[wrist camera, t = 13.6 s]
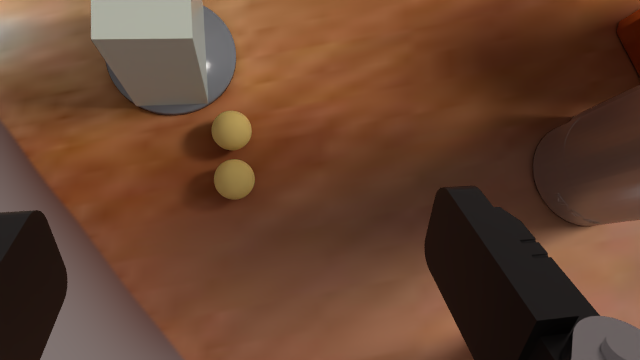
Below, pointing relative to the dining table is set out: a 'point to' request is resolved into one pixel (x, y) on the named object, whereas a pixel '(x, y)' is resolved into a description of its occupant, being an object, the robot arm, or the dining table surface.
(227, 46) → the coaster
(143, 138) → the dining table surface
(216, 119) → the ball
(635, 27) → the whiskey bottle
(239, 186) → the ball
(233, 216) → the dining table surface
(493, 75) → the dining table surface
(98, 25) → the pale grey rectangular box
